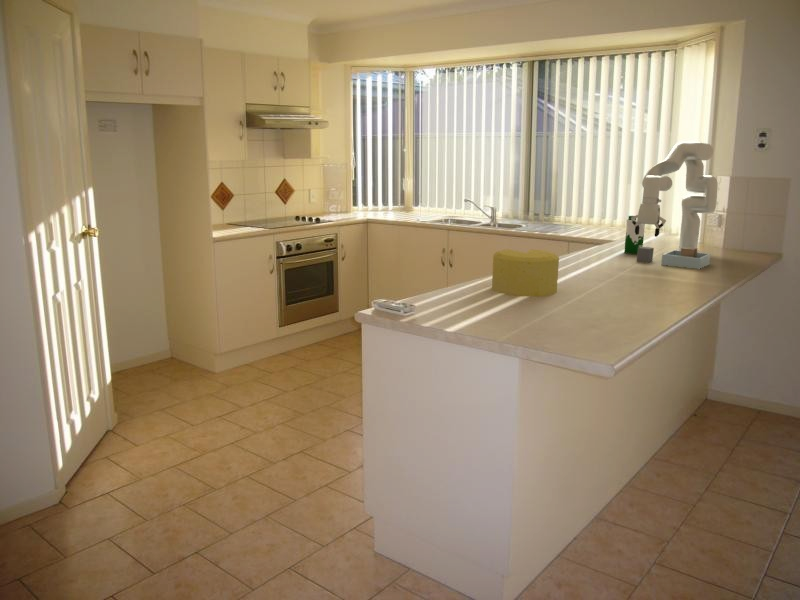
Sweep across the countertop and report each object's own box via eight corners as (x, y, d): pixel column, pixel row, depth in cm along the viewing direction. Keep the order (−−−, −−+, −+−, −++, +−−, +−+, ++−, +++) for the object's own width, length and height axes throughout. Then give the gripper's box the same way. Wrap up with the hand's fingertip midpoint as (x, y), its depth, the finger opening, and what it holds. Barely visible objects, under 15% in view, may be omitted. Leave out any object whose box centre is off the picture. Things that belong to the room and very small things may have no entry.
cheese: (512, 280, 297) (514, 246, 293) (568, 289, 281) (570, 253, 277) (479, 289, 277) (481, 253, 274) (537, 299, 261) (539, 261, 258)
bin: (672, 260, 354) (673, 250, 353) (709, 264, 343) (710, 254, 342) (661, 264, 340) (662, 254, 339) (699, 269, 329) (700, 258, 328)
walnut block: (683, 260, 349) (685, 247, 347) (695, 262, 345) (697, 248, 344) (679, 262, 344) (681, 248, 343) (692, 263, 341) (693, 249, 339)
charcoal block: (640, 260, 354) (641, 246, 352) (652, 261, 351) (653, 247, 349) (636, 261, 349) (637, 247, 348) (648, 262, 346) (649, 249, 344)
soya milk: (627, 251, 382) (631, 215, 378) (644, 252, 377) (647, 216, 372) (622, 253, 375) (625, 216, 371) (638, 254, 370) (642, 217, 365)
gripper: (670, 202, 341) (666, 236, 344) (635, 199, 351) (632, 233, 355) (665, 202, 335) (661, 237, 339) (630, 200, 345) (627, 234, 349)
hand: (646, 235), depth 347 cm, fingers open, 9 cm apart
